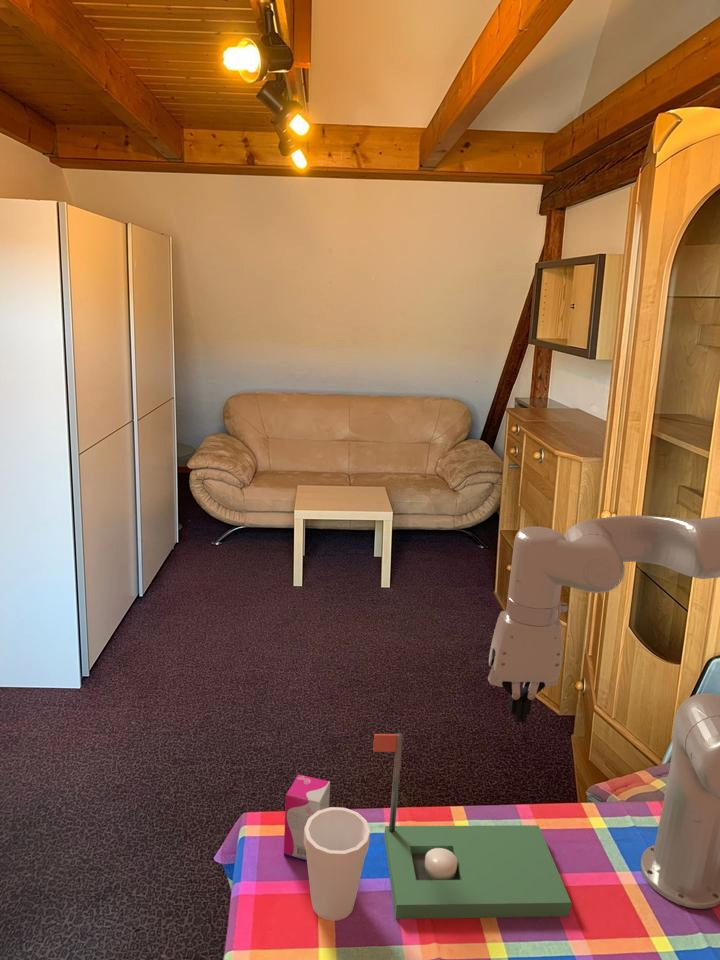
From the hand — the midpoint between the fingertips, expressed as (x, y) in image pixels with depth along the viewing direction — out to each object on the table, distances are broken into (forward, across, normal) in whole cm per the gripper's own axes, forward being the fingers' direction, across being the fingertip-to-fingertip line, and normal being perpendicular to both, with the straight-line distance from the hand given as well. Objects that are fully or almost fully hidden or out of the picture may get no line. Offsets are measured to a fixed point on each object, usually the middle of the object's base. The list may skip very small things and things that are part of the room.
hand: (518, 717), depth 117 cm
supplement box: (+25, +32, -1) cm, 41 cm away
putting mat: (+25, +8, +5) cm, 27 cm away
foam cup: (+25, +28, +10) cm, 39 cm away
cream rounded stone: (+24, +11, +5) cm, 27 cm away
